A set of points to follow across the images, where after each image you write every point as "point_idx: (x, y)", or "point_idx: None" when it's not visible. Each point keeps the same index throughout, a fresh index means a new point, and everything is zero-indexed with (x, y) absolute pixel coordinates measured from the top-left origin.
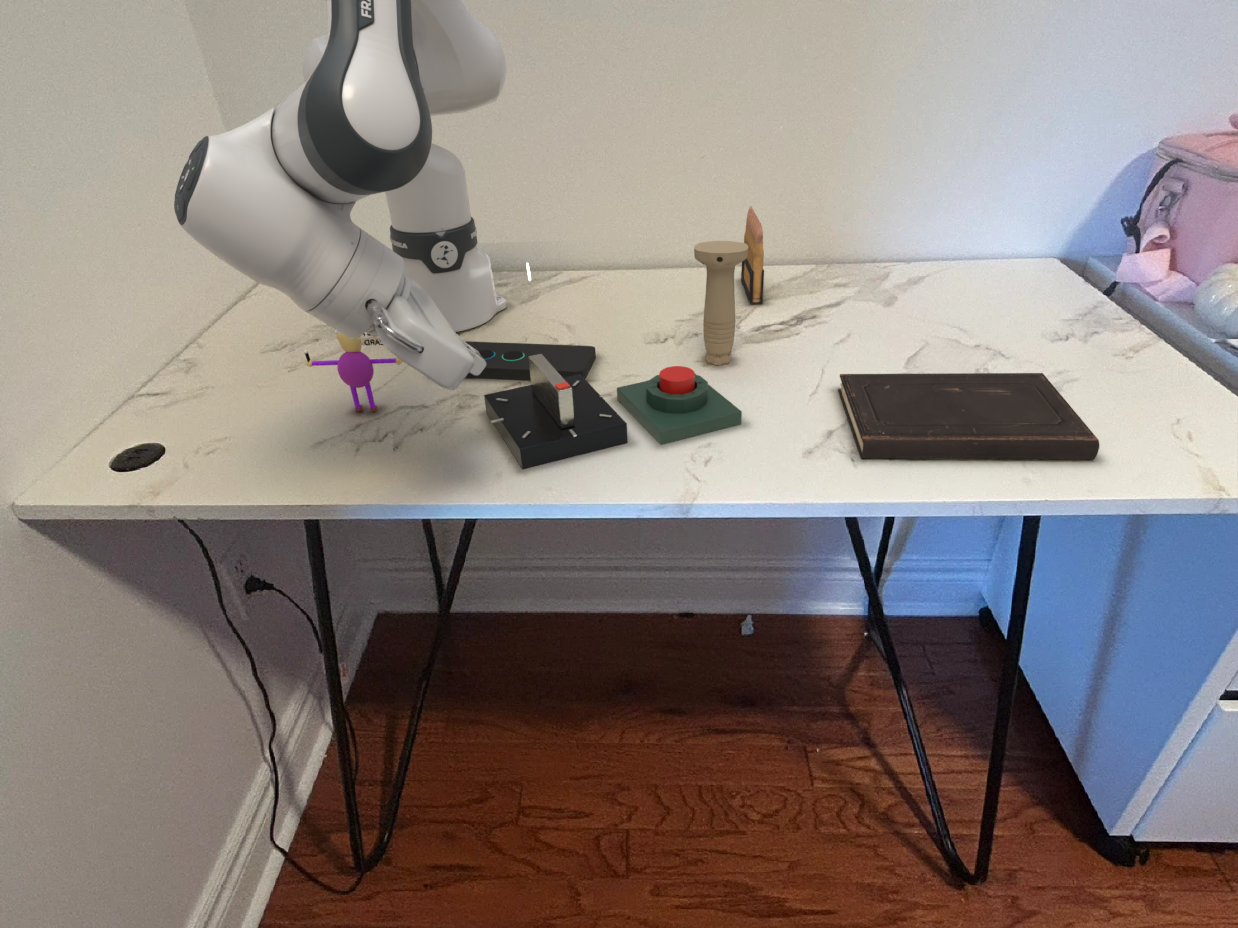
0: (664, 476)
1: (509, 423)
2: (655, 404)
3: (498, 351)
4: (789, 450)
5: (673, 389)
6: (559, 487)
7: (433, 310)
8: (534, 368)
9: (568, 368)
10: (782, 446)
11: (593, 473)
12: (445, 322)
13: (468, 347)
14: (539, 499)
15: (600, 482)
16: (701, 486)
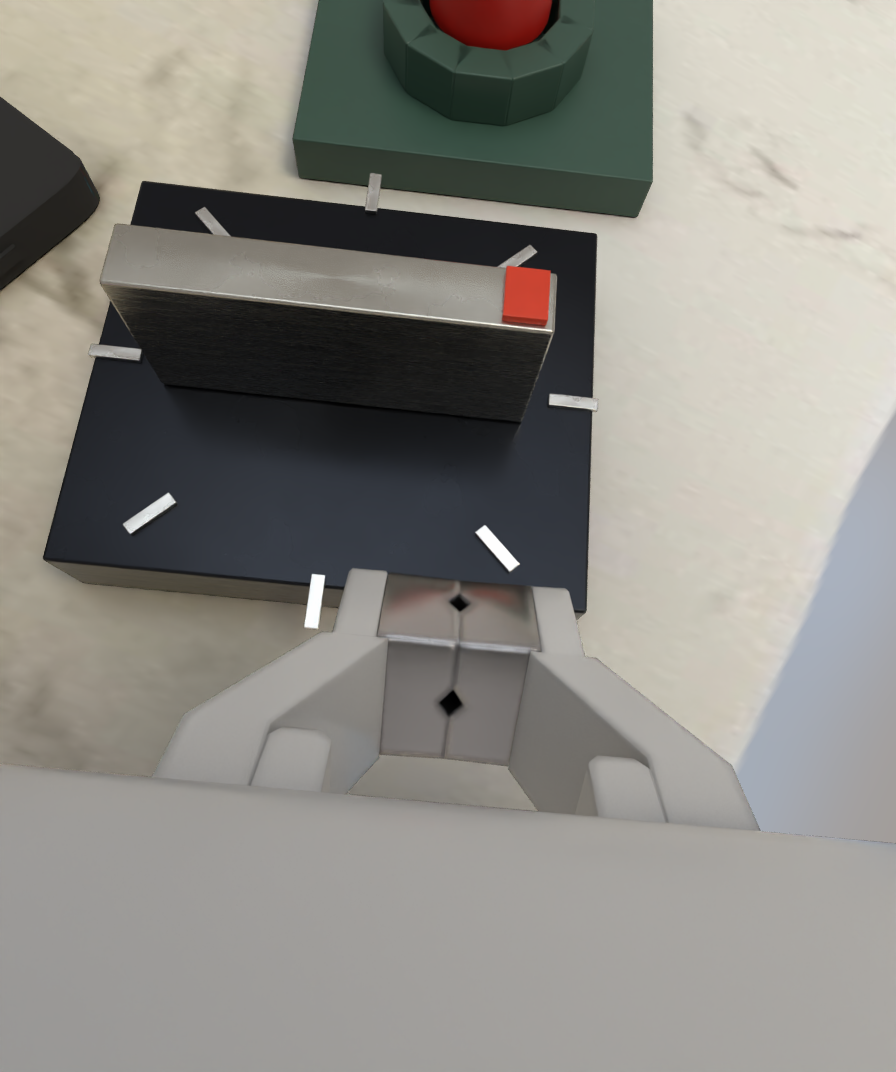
0: (797, 292)
1: (365, 567)
2: (515, 108)
3: None
4: (810, 4)
5: (539, 17)
6: (724, 569)
7: (204, 1051)
8: (204, 311)
9: (22, 189)
10: (785, 4)
11: (693, 445)
12: (645, 939)
13: (408, 646)
14: (764, 654)
15: (751, 451)
16: (883, 245)
